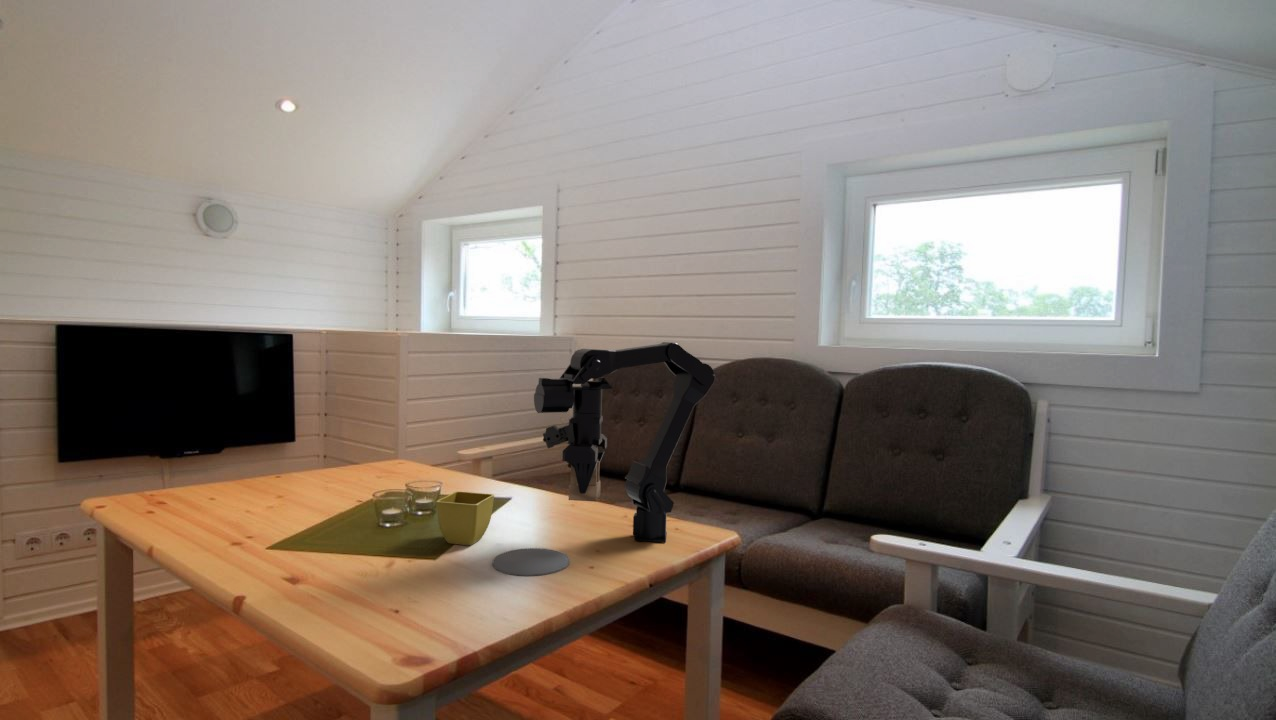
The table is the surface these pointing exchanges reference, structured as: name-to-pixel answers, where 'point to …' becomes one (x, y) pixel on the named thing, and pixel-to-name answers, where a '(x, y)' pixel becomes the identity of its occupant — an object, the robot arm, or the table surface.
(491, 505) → the flower pot
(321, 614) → the table surface
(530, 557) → the mat
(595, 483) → the stool
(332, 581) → the table surface
